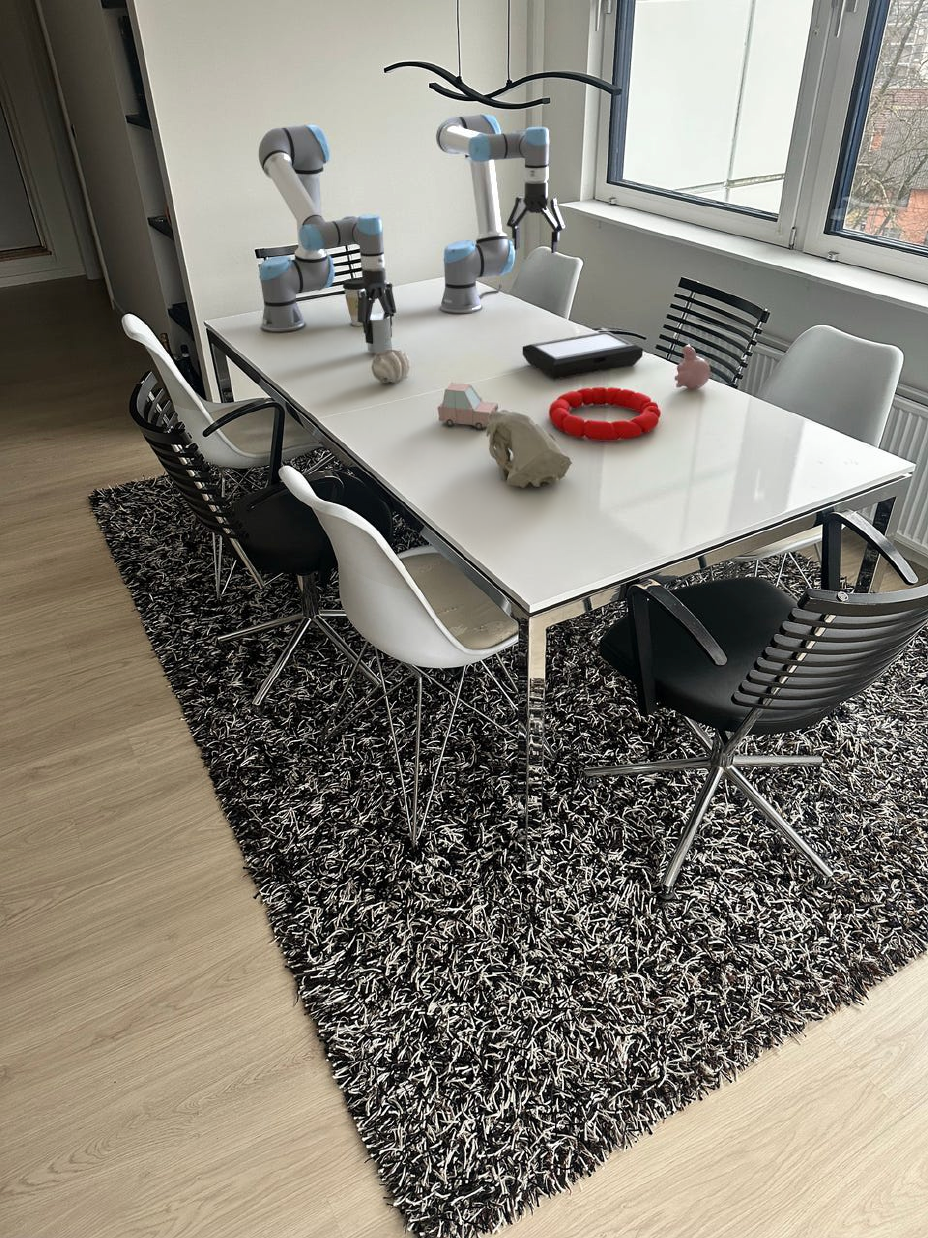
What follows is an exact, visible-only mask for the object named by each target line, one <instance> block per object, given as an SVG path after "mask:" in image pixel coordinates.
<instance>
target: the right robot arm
mask: <svg viewBox="0 0 928 1238" xmlns="http://www.w3.org/2000/svg"><path fill="white" fill-rule="evenodd" d="M549 132H550V130H549V129H548V127H545V126H530V127H527V128H526V129H525V130H522V129H521V130H514V131H513V132H503V133H502V131H501V127H500V125H499V122H498V120H497V119H496V118H495V117H494V115H493V116H492V115H490V114H475V115H466V116H465V115H464V116H454V117H449V118H446V119H445V120H444V121H442V122H441V123H440V124H439V126H438V127H437V130H436V133H435V140H436V144H437V146H438V148H439V149H440V150H441V151H442V152H444V153H446V154H449V155H455V154H456V155H457V154H461V155H464V158H465V159H464V160H465V161H466V162H468V163H469V165H470V173H471V180H472V188H473V196H474V203H475V204H474V205H475V212H476V213H475V214H476V220H477V228H478V235H477V237H476V238H475V241H473V240H471V239H470V240H468V239H467V240H457V241H455V242H451V243H450V244H448V245H447V246H446V247H445V248H444V250H443V269H444V270H443V271H444V291H443V294H442V299H441V302H440V309H441V311H442V312H445V313H449V314H456V315H457V314H458V315H459V314H470V313H475V312H477V311H479V310H481V308H482V301H481V298H482V297H483V296H485V295H488V294H495V293H498V292H500V291H501V289H502V284H499V285H498V289H496V290H491V291H485V292H482V293H481V294H480V295H479V292H478V289H477V279H478V278H487V277H495V276H501V275H502V276H503V275H507V274H508V273H509V272H511V270H512V269H513V266H514V263H515V256H516V255H515V253H516V252H515V251H517V250H520V249H521V228H520V227H519V226H520V224H521V223H522V222H523V220H524V219H525V218H526V217H527V215H528V214H534V213H535V214H541V215H542V216H543V217H544V219H545V220H546V222H547V223H548V225H549V226H550V227H551V229H552V230H553V231H551V241H550V243H551V245H550V254H555V253H556V252H557V246H558V245H557V244H558V242H559V241H560V233H561V231H563V230H565V229H566V225H565V223H564V220H563V217H562V215H561V212H560V209H559V207H558V200H557V198H556V197H554V198H548V193H549V191H548V190H549V183H548V182H547V181H548V180H549V154H550V153H549V151H550V135H549V134H550V133H549ZM512 159H524V181H526V182H525V183H524V197H522V195H519V196H516V197H515V200H514V201H515V203H514V206H513V208H512V211H511V213H510V215H509V217H508V220H507V222H506V227H509V228H511V238H512V239H513V241H514V242H513V241H511V240H509V239H508V236H507V234H506V233H505V232H504V231H503V228H502V219H501V212H500V203H499V195H498V186H497V178H496V170H495V169H496V168H495V161H499V160H512ZM522 204H524V205H525V207H524V209H523V210H522V212H521V213H520V214H519V216H518V217H517V215H518V213H519V211H520V208H521V206H522ZM547 206H549V207H550V209H551V211H552V213H551V212H550V210H549V208H548V207H547ZM552 214H553V215H552Z"/></svg>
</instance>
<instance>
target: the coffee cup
mask: <svg viewBox="0 0 928 1238" xmlns="http://www.w3.org/2000/svg"><path fill="white" fill-rule="evenodd" d="M342 288H343V290H344V297H345V301H346V305H347V310H348V314H349V318H350V323H351V325H353V326H357V327H359V326H363V323H359V322H358V321H357V319H358V295H357V291H358V290H359V291H361V290H363V289H364V282H363V280H362V277H351V278H347V279H345V280H344V281H343V285H342Z"/></svg>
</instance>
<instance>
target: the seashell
mask: <svg viewBox="0 0 928 1238" xmlns="http://www.w3.org/2000/svg"><path fill="white" fill-rule="evenodd" d="M410 368H411V362H410V358H409V357H408V354H407V353H403V351H401V350H396V349H392V350H385V351H384V352H383V353H374V356H373V358H372V363H371V371H372V374H373V377H375V378H376V379H377V380H378V381H379V382H380V383H384V384H388V383H389V382H390V383H393V384H396V383H400V382H402V381H403V380H404V378H406V376H407V375H408V373H409V372H410Z"/></svg>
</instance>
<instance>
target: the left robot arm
mask: <svg viewBox="0 0 928 1238" xmlns="http://www.w3.org/2000/svg"><path fill="white" fill-rule="evenodd" d="M330 155H331V153H330V146H329V142H328V139H327V137H326V135H325V132H324V131H323V130H322V128H321V127H320V126H318V125H315V124H303V125H293V126H286V127H275V128H272V129H269V131H267V132H266V133H265V134H264V136H263V137H262V139H261V140H260V143H259V147H258V160H259V164H260V168H261V169H262V171H263V172H264V174H265V176H266V177H267V178H269V179H271V180H272V182H273V183H274V185H275V187H276V188H277V190H278V191H279V193H280V195H281V197H282V199H283V200H284V201H285V204H286V205H287V207H288V209H289V210H290V212H291V213H292V215H293V217H294V219H295V220H296V229H297V231H296V232H297V245H298V247H297V248H296V249H295V250H294V259H292V258H291V257H290V256H288V255H279V256H273V257H270V258H266V259H265V260H263V261H262V262H261V263H260V265H259V266H258V270H259V271H258V273H259V281H260V287H261V292H262V299H263V313H262V318H261V326H262V330H264V331H265V332H271V333H286V332H293V331H296V330H297V331H298V330H300V329H302V328H304V326H305V319H304V317H303V314H302V312H301V310H300V307H299V306H298V305H299V304H298V303H297V295H300V294H305V293H306V294H307V293H310V292H316V291H317V292H319V291H322V290H326V289H328V288H330V287H331V286H332V284H333V283H334V280H335V265H334V261H333V258H332V256H331V255H329V254H328V251H327V250H326V249H331V248H339V247H344V246H345V247H346V246H351V245H357V246H359V257H360V266H361V269H362V270H361V278H362V280H363V282H364V289H363V290H361V291H359V290H358V291H357V295H358V319H357V321H358V322H359V323H363V325H362V331H363V334H364V336H365V338H364V339H365V343H366V344H367V343H369V344H373V335H372V324H371V323H369V322H370V317H371V314H373V308H374V304H375V302H376V300H377V299H378V302H379V303H380V306H381V308H382V311H383V313H386V314H388V315H390V327H391V338H392V337H393V330H392V326H393V318H394V317H395V314H397V307H396V302H395V297H394V291H393V283H392V282H387V281H386V280H387V275H386V273H387V272H386V268H385V266H386V263H385V262H386V261H385V248H384V228H383V224H382V218H381V216H380V215H377V214H372V213H371V214H370V213H369V214H361V215H359V216H358V217H356V216H344V217H343V218H341V219H338V220H331V221H325V219H324V218H323V216H322V205H321V185H320V176H321V175H322V174H323V173H324V165H326V164H327V163H328V162H329V160H330V157H331V156H330Z"/></svg>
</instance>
